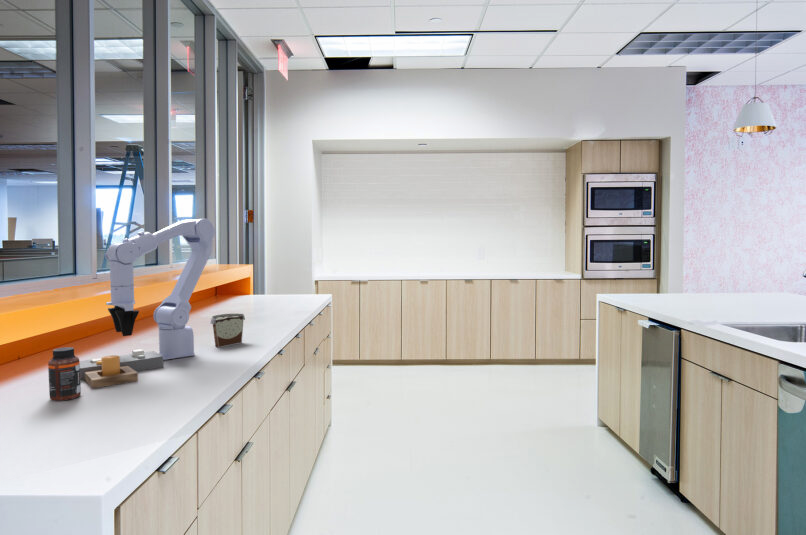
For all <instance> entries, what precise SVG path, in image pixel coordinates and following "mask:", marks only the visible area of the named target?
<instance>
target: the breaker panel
mask: <svg viewBox="0 0 806 535" xmlns="http://www.w3.org/2000/svg"><path fill="white" fill-rule="evenodd" d="M119 356H120V367H122V366H129V367H131V368H132V369H133V370H134V371H136V372H140V371H145V370H146V371H147V370H153V369H158V368H163V367H164V360H163V356H161V355H160V354H159V353H158V352H156V351H154V350H151V351H144V355H139V356H138V357H134V358H133V357H132V353H129V354H121V355H119ZM79 362H80V381H82V380H85V372H89V371H95V370H102V361H97V362H96V363H92V359H87V360H86V359H85V360H79Z"/></svg>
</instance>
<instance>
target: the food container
mask: <svg viewBox="0 0 806 535" xmlns="http://www.w3.org/2000/svg"><path fill="white" fill-rule="evenodd" d="M245 320H246V318H245V314H244V313H222V314H217V315H215V314H214V315H212V317H211V319H210V324H211V325H212V330H213V338H214V339H213V340H214V346H215V347H216V348H217V349H218V348H222V347H223V348H224V347H227V346H228V347H229V346H233V345H238V343H239V344H242V343H243V334H244V333H243V332H244V331H243V330H244V329H243V328H244V321H245Z"/></svg>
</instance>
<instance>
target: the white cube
mask: <svg viewBox="0 0 806 535" xmlns="http://www.w3.org/2000/svg"><path fill="white" fill-rule="evenodd" d="M101 358H102V357H100V358H92V359H91V360H92V363H96V362H97V361H102V360H101Z"/></svg>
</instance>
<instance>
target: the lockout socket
mask: <svg viewBox="0 0 806 535" xmlns="http://www.w3.org/2000/svg"><path fill="white" fill-rule="evenodd" d="M84 380H85V382H86V383H87V384H88V385H89V386H90V387H91V389H97V388H103V387H104V388H105V387H108V386H109V387H110V386H115V385H121V384H122V385H123V384H126V383H131V382H138V381H139V373H138V371H134V370H133V369H132V368H131V367H129V366H122V367H120V374H115V375H109V376H103V377H102V370H95V371H89V372H85V379H84Z"/></svg>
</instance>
